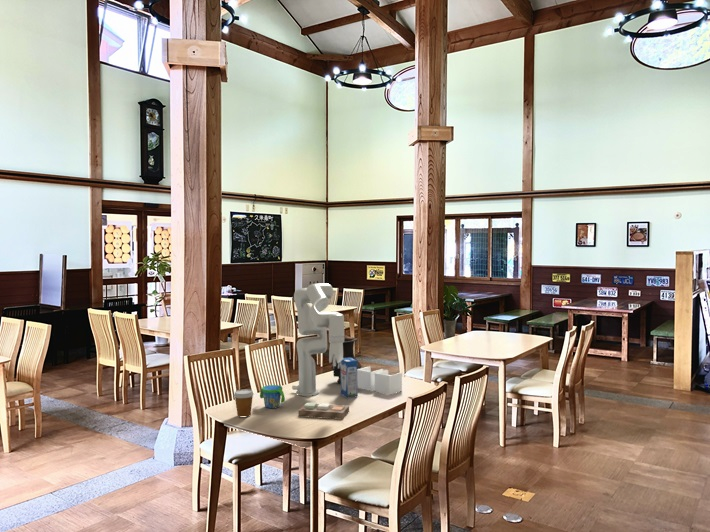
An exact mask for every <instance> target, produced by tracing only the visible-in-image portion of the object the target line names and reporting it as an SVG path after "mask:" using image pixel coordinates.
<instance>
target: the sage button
mask: <svg viewBox="0 0 710 532" xmlns="http://www.w3.org/2000/svg"><path fill="white" fill-rule="evenodd" d="M317 404H318V403H317V402H306V403H305V404H304V405H303V406H304V408H306V409H315V408H316V407H317Z"/></svg>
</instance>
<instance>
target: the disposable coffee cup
mask: <svg viewBox="0 0 710 532" xmlns="http://www.w3.org/2000/svg"><path fill="white" fill-rule="evenodd" d="M233 396H234V400H235V401H234V402H235V407H236V413H237V417H238V416H249V415H252V407H253V406H252V405H253V397H254V392H253V389H247V388H245V389H237V390H235V391H234V394H233ZM249 417H250V416H249Z"/></svg>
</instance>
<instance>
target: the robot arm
mask: <svg viewBox="0 0 710 532" xmlns="http://www.w3.org/2000/svg"><path fill="white" fill-rule="evenodd" d="M333 296H334V289H333V286H332V285H331V284H329V283H327V282H326V283H325V282H324V283H312V284H309V285H308V286H307V287H301V288H298V289H296V290H294V293H293V299H294V304H295V307H296V310H297V323H298V324H297V326H298V332H299V334H300V335H301V336H311V337H303V338H300V339H298V340H297V342H296V352H297V358H298V359H297V360H298V385H292V386H291V388H292V390H296V393H295V394H296V395H297V394H298V396H299V395H302V396H301V397H311V396H312V395H313V396H317V395H319V389H317V388H316V387H317V381H316V380H317V376H316V375H317V372H316V367H317V366H316V361H315V358H313V356H312V355H317V354H325V353H326V352H327V350H328V343H329V351H328V352H329V354H328V357H329V358H328V362H329V364H331V363H332V364H333V370H332V371H333V372H332V373H333V377H334V378H335V377H336V378H339V377H340V376H341V368H340V367H341V361H342V360H343V342H344V334H345V315H344V314H343V313H340V312H338V311H324V310H326V309H327V308H328V307H329V303H330V301H329V300H330V299H332V298H333ZM310 304H312V305H310ZM322 311H323V312H322ZM327 328H328V331H327ZM313 335H315V336H313ZM316 335H317V336H316ZM313 396H312V397H313Z"/></svg>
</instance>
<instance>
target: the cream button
mask: <svg viewBox="0 0 710 532" xmlns="http://www.w3.org/2000/svg"><path fill="white" fill-rule="evenodd" d="M318 404H319V405H318V409H321V410H328V409H329V408H330V405H331V403H326V402H325V403H324V402H323V403H318Z"/></svg>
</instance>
